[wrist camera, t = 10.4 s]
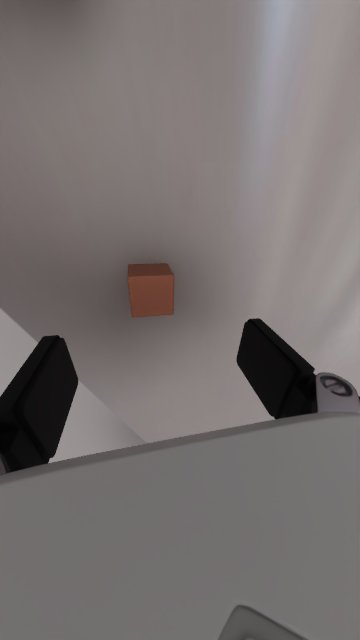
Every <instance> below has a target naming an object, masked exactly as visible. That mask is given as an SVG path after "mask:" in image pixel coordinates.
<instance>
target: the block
mask: <svg viewBox="0 0 360 640" xmlns="http://www.w3.org/2000/svg"><path fill="white" fill-rule="evenodd" d="M128 286H129V295H130V304H131V312H132V317H146V316H160V315H173V313H174V275H173V273H172V271H171V269H170V268H169V266H168V264H129V266H128Z"/></svg>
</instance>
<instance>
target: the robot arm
mask: <svg viewBox="0 0 360 640" xmlns="http://www.w3.org/2000/svg"><path fill="white" fill-rule="evenodd" d="M237 364H238V366H239V367H240V369H241V370H242V372H243V373H244V375H245V377H246V378H247V380H248V381H249V383H250V384H251V386H252V388H253V389H254V391H255V392H256V394H257V395H258V397H259V399H260V400H261V402H262V403H263V405H264V406H265V408H266V410H267V411H268V413H269V414H270V415H271V416H274V418H275V419H276V420H270V421H265V422H259V423H254V424H248V425H243V426H237V427H232V428H227V429H221V430H216V431H211V432H205V433H200V434H195V435H189V436H184V437H179V438H174V439H168V440H163V441H158V442H153V443H148V444H143V445H138V446H132V447H127V448H122V449H117V450H112V451H107V452H102V453H96V454H91V455H86V456H81V457H77V458H72V459H67V460H63V461H58V462H53V463H48V462H49V459H50V458H52V457H53V456H54V455H55V453H56V450H57V447H58V444H59V441H60V437H61V434H62V432H63V429H64V425H65V422H66V419H67V416H68V413H69V410H70V407H71V404H72V401H73V398H74V395H75V392H76V389H77V386H78V377H77V374H76V371H75V368H74V365H73V362H72V360H71V357H70V354H69V351H68V348H67V345H66V342H65V340H64V338H60V337H59V336H58V335H54V336H44V337H43V338H42V339H41V340H40V342H39V343H38V345H37V346H36V347H35V349H34V350H33V352H32V353H31V354H30V356H29V357H28V359H27V360H26V361H25V363H24V364H23V366H22V367H21V368H20V370H19V371H18V373H17V374H16V376H15V377H14V378H13V380H12V381H11V383H10V384H9V385H8V387H7V388H6V390H5V391H4V392H3V394H2V395H1V397H0V640H360V397H359V396H358V394H357V391H356V389H355V388H354V387H353V385H352V384H351V383H349V382H348V381H347V380H345V379H343V378H342V377H340V376H337V375H335V374H331V373H325V372H322V373H318V374H317V375H315V374H314V373H313V372H314V370H315V369H314V368H313V367H312V366H311V365H310V364H309V363H308V362H307V361H306V360H305V359H304V358H302V357H301V356H300V355H299V354H298V353H297V352H296V351H295V350H294V349H293V348H292V347H290V346H289V345H288V344H287V343H286V342H285V341H284V340H283V339H282V338H281V337H279V336H278V335H277V334H276V333H275V332H274V331H273V330H272V329H271V328H270V327H269V326H267V325H266V324H265V323H264V322H263V321H262V320H261V319H259V318H257V319H249V320H248V321H247V322H245V324H244V328H243V333H242V337H241V342H240V346H239V350H238V355H237Z"/></svg>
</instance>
